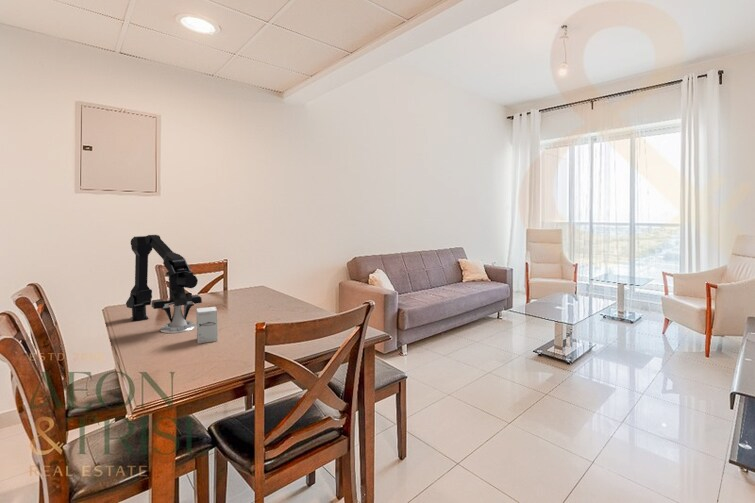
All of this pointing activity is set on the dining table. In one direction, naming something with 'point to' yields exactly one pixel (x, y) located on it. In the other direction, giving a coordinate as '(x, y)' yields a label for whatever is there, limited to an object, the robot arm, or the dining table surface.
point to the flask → (177, 317)
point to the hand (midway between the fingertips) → (178, 320)
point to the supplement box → (206, 324)
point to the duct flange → (178, 328)
